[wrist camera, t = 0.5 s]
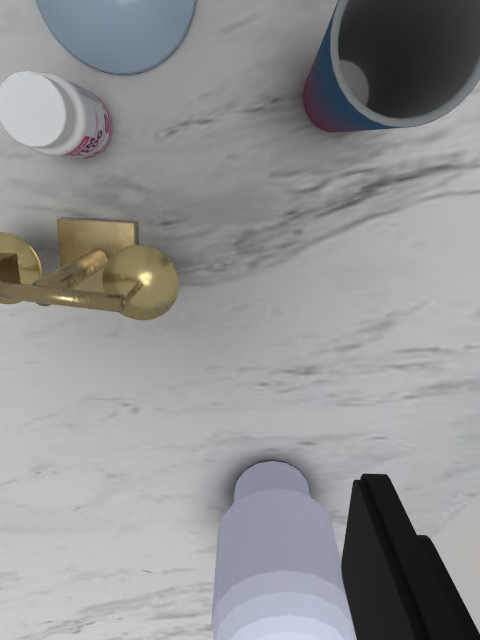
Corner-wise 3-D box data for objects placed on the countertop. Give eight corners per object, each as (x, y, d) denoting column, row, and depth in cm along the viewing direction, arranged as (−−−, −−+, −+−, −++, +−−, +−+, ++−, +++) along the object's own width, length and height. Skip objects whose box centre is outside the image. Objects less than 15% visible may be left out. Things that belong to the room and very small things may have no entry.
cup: (281, 133, 33) (310, 106, 18) (305, 31, 30) (359, -89, 16) (366, 154, 33) (459, 144, 19) (396, 55, 31) (527, -41, 17)
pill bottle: (101, 169, 33) (56, 169, 26) (42, 140, 33) (-22, 131, 25) (122, 108, 32) (83, 88, 24) (62, 77, 31) (0, 45, 23)
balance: (7, 214, 35) (-120, 239, 23) (192, 225, 35) (165, 254, 23) (16, 286, 37) (-96, 344, 25) (191, 295, 37) (166, 357, 25)
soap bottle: (270, 543, 46) (297, 910, 23) (200, 489, 44) (153, 837, 21) (342, 488, 44) (452, 838, 21) (272, 427, 41) (308, 747, 18)
